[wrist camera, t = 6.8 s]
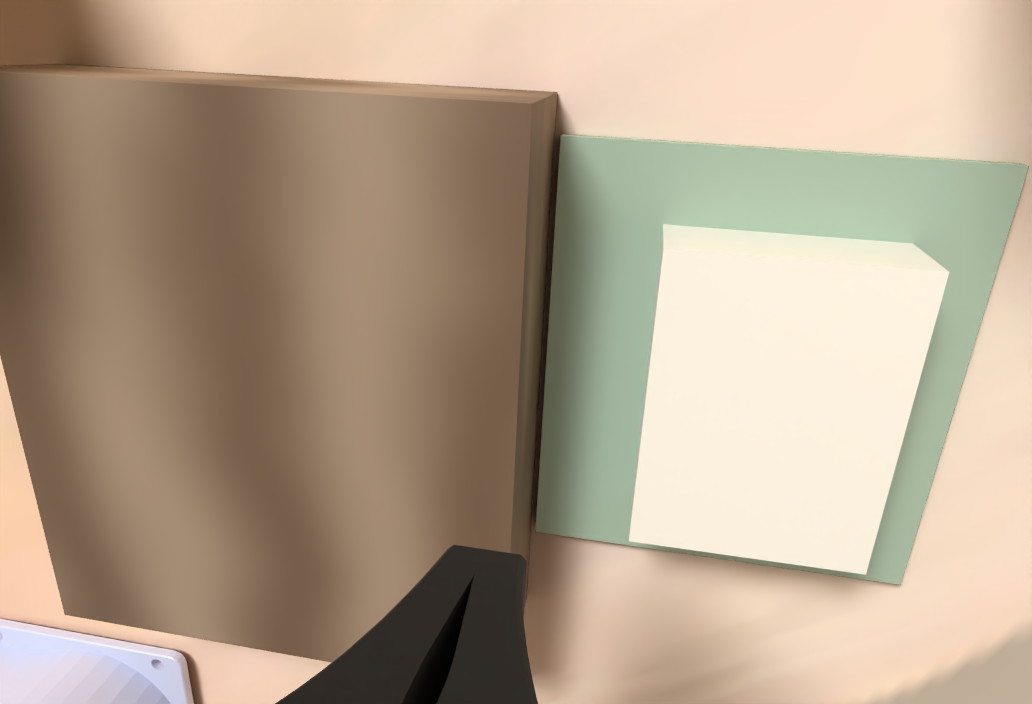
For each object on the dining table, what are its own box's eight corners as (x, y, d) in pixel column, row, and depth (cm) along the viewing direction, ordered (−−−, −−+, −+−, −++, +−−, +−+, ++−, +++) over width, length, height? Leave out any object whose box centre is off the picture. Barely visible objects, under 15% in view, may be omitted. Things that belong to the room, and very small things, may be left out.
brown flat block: (145, 537, 27) (64, 614, 23) (58, 63, 21) (-72, 68, 17) (526, 598, 25) (503, 693, 21) (557, 91, 19) (532, 103, 15)
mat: (537, 524, 24) (535, 531, 23) (562, 134, 19) (560, 135, 19) (896, 575, 22) (900, 584, 22) (1021, 163, 17) (1029, 166, 17)
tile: (865, 574, 19) (843, 517, 21) (949, 272, 16) (913, 243, 18) (628, 541, 20) (632, 489, 22) (663, 248, 17) (662, 224, 19)
